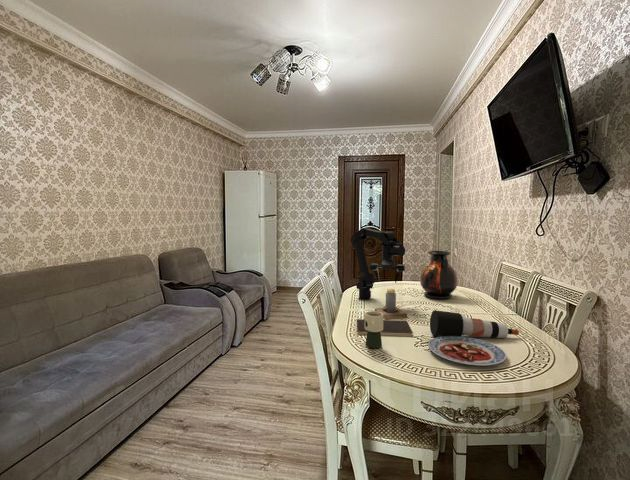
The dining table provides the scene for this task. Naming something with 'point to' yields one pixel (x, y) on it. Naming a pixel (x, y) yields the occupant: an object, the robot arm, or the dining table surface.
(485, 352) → the ceramic plate
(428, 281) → the dark orange vase
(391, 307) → the grey and tan cylinder
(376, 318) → the character mug
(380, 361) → the dining table surface
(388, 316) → the brown square frame
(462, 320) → the black white tapered cylinder
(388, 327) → the hardcover book
